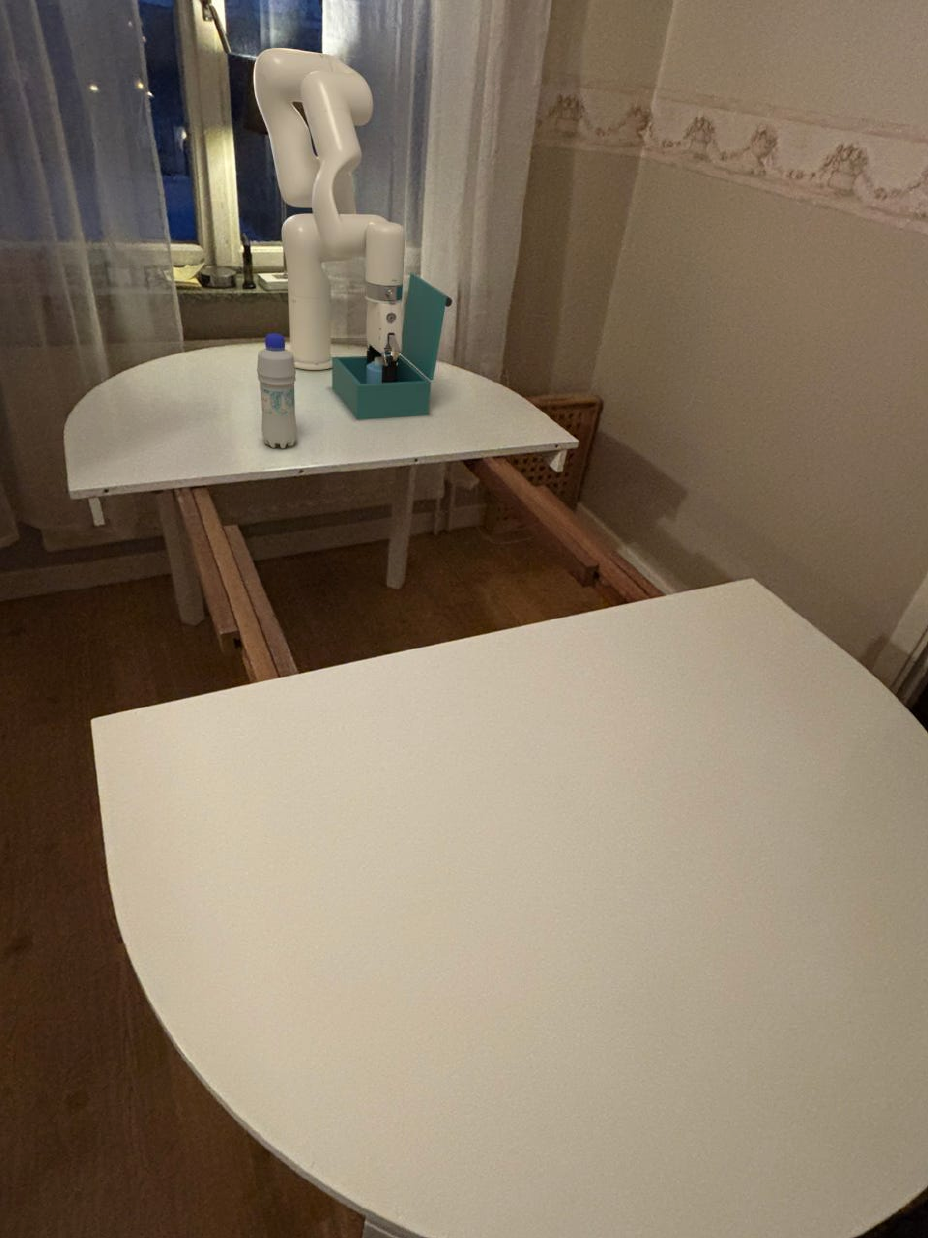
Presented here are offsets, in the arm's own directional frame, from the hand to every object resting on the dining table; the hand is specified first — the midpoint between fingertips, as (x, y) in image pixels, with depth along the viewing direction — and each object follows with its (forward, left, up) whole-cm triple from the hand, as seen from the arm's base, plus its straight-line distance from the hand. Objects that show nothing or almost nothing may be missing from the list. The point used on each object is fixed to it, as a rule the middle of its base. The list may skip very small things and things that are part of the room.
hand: (381, 376), depth 158 cm
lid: (0, +8, +10) cm, 13 cm away
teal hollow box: (0, 0, -6) cm, 6 cm away
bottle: (+18, -26, -6) cm, 32 cm away
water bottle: (0, 0, -5) cm, 5 cm away
